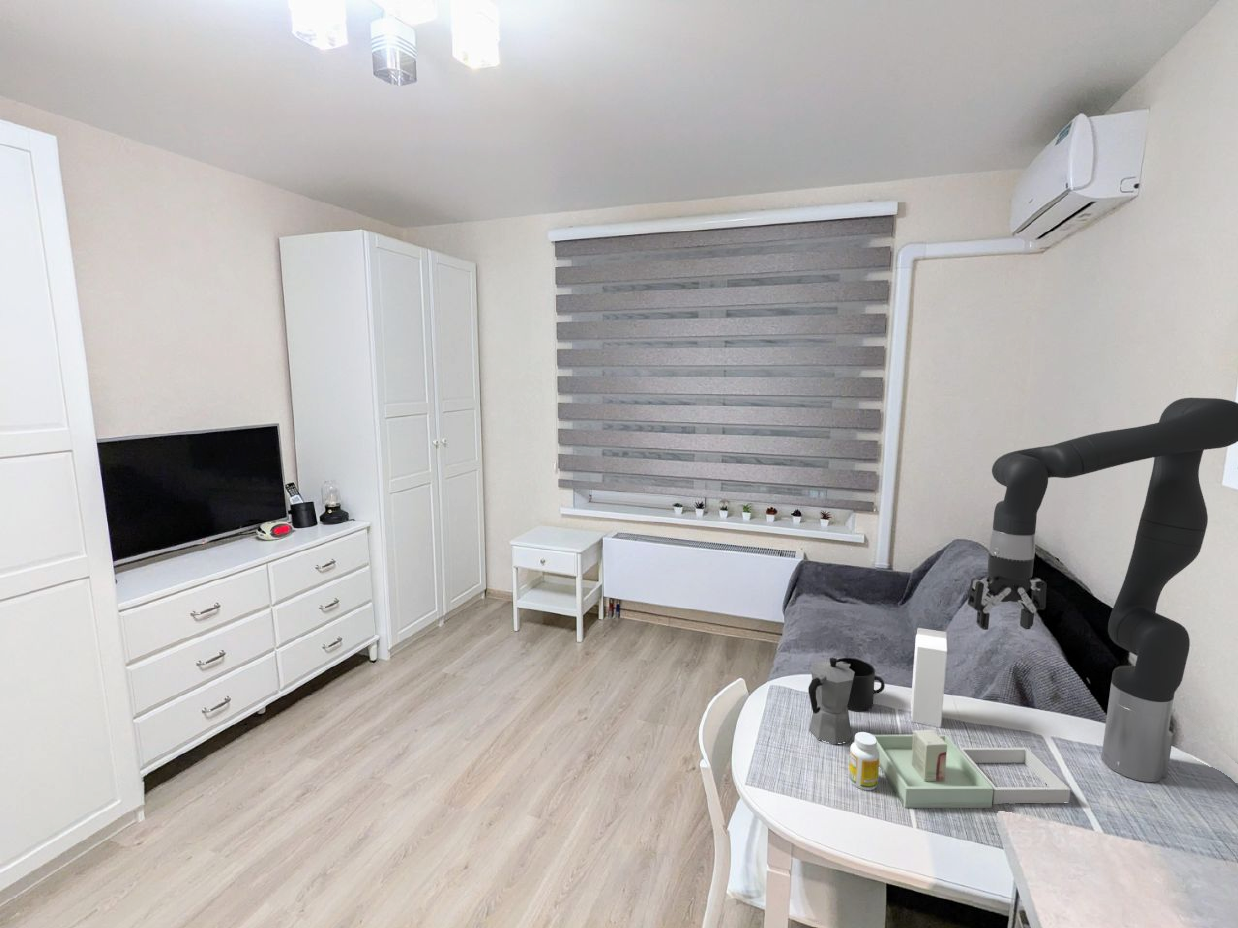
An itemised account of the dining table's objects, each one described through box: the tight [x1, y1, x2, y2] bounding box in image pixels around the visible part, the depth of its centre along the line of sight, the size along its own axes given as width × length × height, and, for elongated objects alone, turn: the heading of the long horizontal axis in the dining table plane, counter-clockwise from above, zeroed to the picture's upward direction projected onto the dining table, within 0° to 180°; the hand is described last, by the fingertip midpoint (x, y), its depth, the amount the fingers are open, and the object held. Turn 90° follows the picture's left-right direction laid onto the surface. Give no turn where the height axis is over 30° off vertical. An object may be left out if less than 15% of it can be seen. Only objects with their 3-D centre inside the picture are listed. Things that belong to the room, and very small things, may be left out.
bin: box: [872, 734, 993, 809], centre depth 114 cm, size 16×16×4 cm
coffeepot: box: [807, 657, 855, 745], centre depth 127 cm, size 15×9×18 cm, turn 129°
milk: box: [910, 627, 948, 729], centre depth 132 cm, size 6×6×22 cm
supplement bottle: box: [848, 731, 880, 791], centre depth 113 cm, size 5×5×10 cm
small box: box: [911, 729, 947, 781], centre depth 114 cm, size 5×4×8 cm
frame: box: [957, 747, 1071, 805], centre depth 113 cm, size 14×12×3 cm
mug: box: [837, 657, 886, 712], centre depth 140 cm, size 9×12×9 cm
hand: (1003, 627), depth 118 cm, fingers open, 8 cm apart
